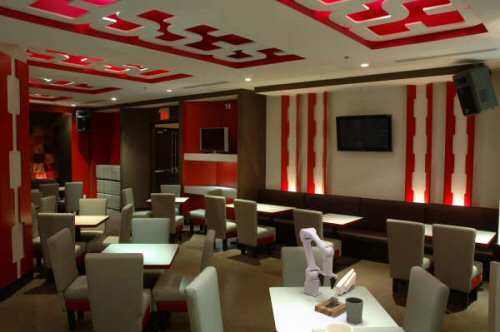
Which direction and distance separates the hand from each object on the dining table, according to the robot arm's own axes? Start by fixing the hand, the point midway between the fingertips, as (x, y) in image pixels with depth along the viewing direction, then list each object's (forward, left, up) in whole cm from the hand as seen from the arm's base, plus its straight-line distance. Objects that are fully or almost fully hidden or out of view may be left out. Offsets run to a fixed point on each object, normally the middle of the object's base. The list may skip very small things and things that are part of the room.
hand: (327, 287), depth 263 cm
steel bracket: (+9, -8, -9) cm, 15 cm away
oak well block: (+9, -8, -10) cm, 16 cm away
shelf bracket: (-2, +27, -10) cm, 29 cm away
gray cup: (+26, -11, -10) cm, 30 cm away
